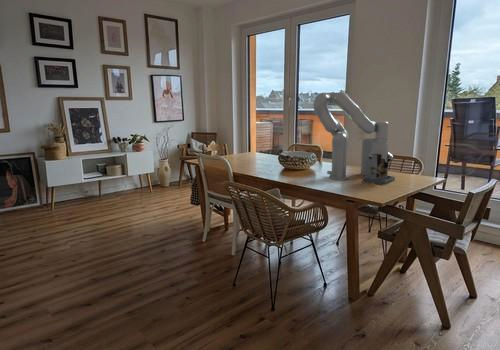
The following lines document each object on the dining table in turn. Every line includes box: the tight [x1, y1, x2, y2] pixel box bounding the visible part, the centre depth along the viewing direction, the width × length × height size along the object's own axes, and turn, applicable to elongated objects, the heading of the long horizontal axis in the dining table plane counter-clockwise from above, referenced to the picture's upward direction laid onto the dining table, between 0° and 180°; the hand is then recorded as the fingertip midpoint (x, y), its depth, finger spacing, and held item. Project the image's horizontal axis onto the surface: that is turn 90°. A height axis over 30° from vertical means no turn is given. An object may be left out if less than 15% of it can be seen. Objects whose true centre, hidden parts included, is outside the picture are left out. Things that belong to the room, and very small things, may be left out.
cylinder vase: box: [360, 138, 375, 177], centre depth 244 cm, size 12×12×25 cm
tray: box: [362, 175, 396, 186], centre depth 228 cm, size 15×16×2 cm
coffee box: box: [370, 154, 390, 179], centre depth 226 cm, size 9×6×16 cm
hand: (379, 167), depth 226 cm, fingers closed on coffee box, 8 cm apart
